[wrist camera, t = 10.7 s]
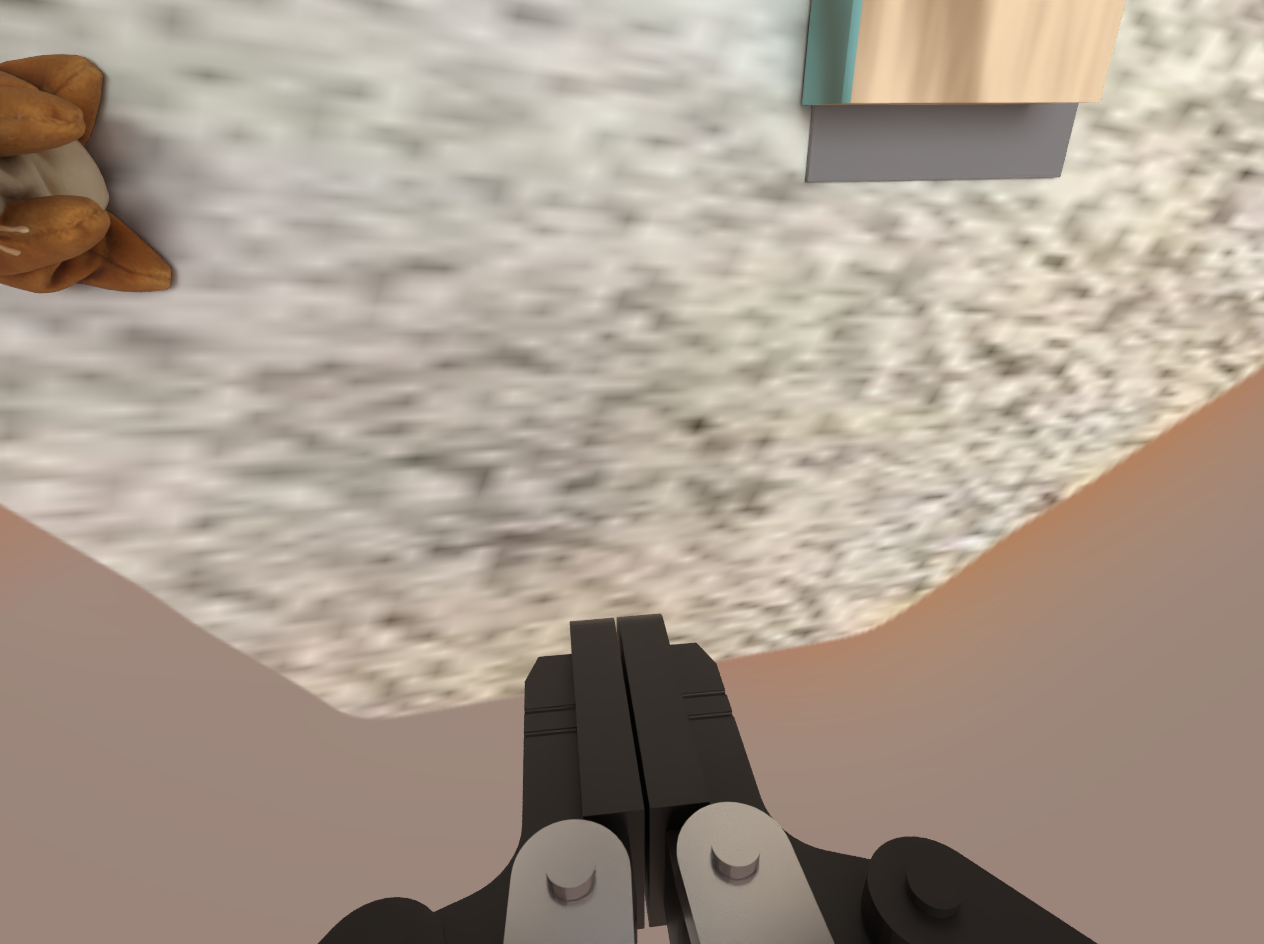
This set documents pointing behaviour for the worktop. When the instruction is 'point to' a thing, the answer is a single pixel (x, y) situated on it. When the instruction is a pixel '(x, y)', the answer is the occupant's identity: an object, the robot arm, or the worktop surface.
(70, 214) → the stuffed squirrel
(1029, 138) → the slate mat
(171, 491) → the worktop surface
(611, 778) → the robot arm
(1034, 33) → the maple block
